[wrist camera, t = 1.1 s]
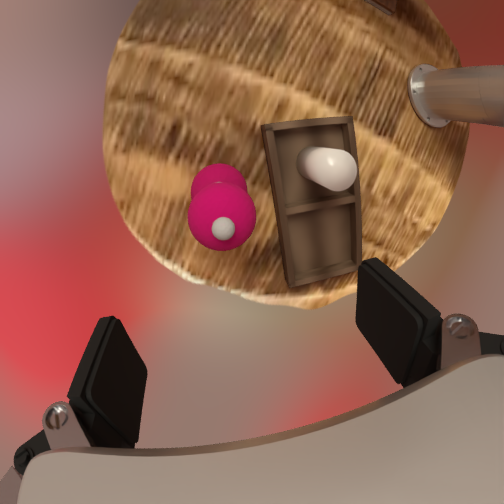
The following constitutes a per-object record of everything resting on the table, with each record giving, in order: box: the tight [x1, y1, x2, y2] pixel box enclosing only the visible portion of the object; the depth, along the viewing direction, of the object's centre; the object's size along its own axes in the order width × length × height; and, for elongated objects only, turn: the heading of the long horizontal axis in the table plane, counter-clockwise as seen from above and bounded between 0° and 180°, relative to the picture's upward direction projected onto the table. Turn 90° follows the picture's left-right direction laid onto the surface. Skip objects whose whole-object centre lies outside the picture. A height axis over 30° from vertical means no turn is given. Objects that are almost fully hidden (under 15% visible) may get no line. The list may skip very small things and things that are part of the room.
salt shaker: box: [296, 146, 357, 191], centre depth 33 cm, size 5×5×9 cm
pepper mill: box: [188, 164, 256, 251], centre depth 29 cm, size 7×7×20 cm
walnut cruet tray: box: [261, 116, 362, 288], centre depth 39 cm, size 13×25×3 cm, turn 10°
